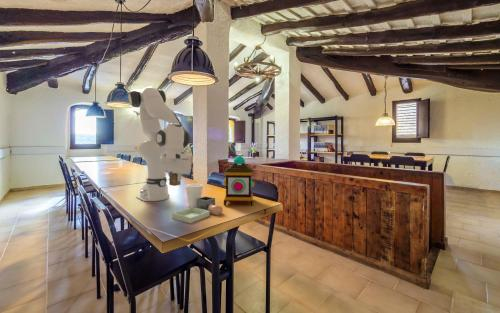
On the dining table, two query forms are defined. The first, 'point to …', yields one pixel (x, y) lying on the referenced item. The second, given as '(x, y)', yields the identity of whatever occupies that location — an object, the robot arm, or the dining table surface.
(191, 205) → the foam cup
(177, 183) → the walnut block
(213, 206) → the potato
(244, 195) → the decorative lantern
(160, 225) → the dining table surface
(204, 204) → the dark grey square bin
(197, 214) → the pale green tray
